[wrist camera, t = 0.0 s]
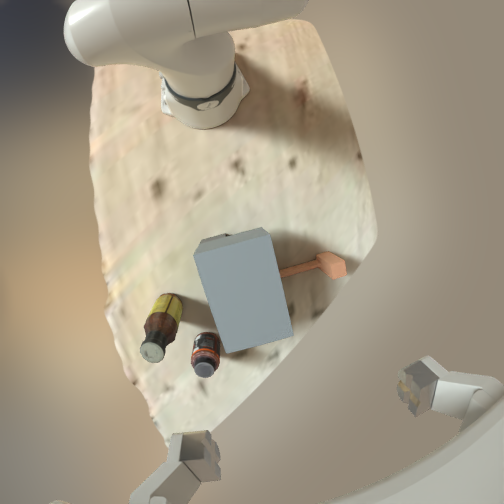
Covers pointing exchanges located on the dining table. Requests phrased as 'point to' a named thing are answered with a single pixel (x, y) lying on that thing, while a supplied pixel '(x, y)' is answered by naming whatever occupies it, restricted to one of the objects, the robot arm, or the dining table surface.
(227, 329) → the grey block
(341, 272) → the square headed mallet
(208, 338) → the supplement bottle
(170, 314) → the sauce bottle
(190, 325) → the dining table surface
